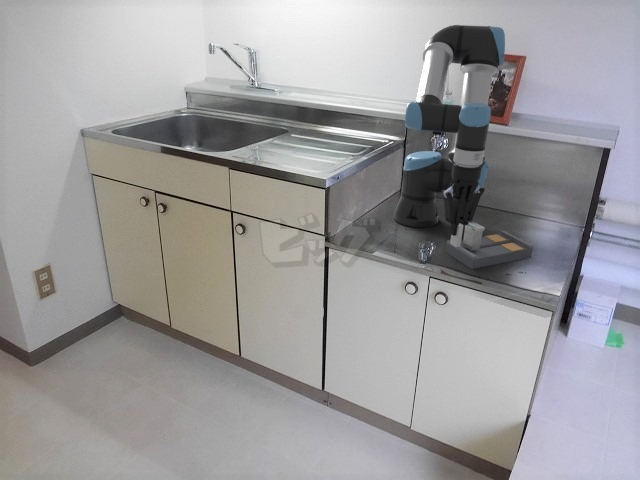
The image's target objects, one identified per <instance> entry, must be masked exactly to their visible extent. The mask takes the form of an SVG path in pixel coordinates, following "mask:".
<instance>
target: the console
mask: <svg viewBox="0 0 640 480" xmlns="http://www.w3.org/2000/svg"><path fill="white" fill-rule="evenodd" d="M450 240H451V239H448V240H446V246H445V253H447V254H448V255H449V256H451V258H453V259H455V260H457V261H458V262H460V263H462V264H463V265H465V266H466V267H468V268H469V269H471V270H476V269H479V268H484V267H489V266H495V265H499V264H504V263H505V264H506V263H508V262H514V261H519V260H523V259H529V258H532V253H533V248H534V245H533V244H531V243H529V242H528V241H525V240H524V239H521V238H519V237H518V236H515V235H514V234H512V233H510V232H507V231H506V230H501V231H500V233H497V234H489V235H484V236H482V238H481V244H480V249H479V250H473V251H471V250H469V249H467V248H466V247H464V246H462V244H463V239H461V245H460V247H455V246H453V245H452V244H450Z"/></svg>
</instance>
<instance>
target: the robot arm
mask: <svg viewBox="0 0 640 480" xmlns="http://www.w3.org/2000/svg"><path fill="white" fill-rule="evenodd" d="M505 51H506V35H505V30H504V29H503V28H502V27H499V26H492V25H468V24H467V25H465V24H464V25H463V24H462V25H461V24H454V25H449V26H446V27H443V28H442V29H440V30H438V31H437V32H435V33H434V35H432V36H431V37H430V38H429V39H428V40H427V42H426V44H425V46H424V48H423V52H422V61H423V67H422V72H421V77H420V80H419V81H420V82H419V85H418V90H417V91H418V92H417V95H416V99H415V101H409V102H408V103H407V105H406V108H405V109H406V110H405V115H404V126H405V127H406V128H407V129H410V130H417V131H425V132H427V131H428V132H440V133H441V132H442V133H451V134H452V133H453V134H455V137H454V146H453V149H452V150H450V151H449V152H448V155H447V158H444V157H443V156H442V154H441V152H439V151H431V150H429V151H428V150H424V151H423V150H422V151H415V152H413V153H410V154H408V155H407V156H406V157H405V159H404V164H403V165H404V166H403V167H402V170H403V172H402V173H403V175H402V183H401V191H400V197H399V200H398V202H397V204H396V208H395V209H394V211H393V219H394V221H396V222H397V223H399V224H401V225H403V226H408V227H412V228H429V227H434V226H436V225H437V224H438V222H439V211H438V207H437V201H436V198H437V194H442V197H443V201H444V202H443V203H444V205H443V206H444V216H445V217H444V218H445V221H446V222H447V223H449V224H450V229H449V233H450V239H449V240H450V244H452V245H453V246H455V247H460V245H461V240H462V239H463V238H462V237H463V235H464V232H465V225H468V224H469V223H470V222H473V218H474V215H475V214H476V211H477V208H478V205H479V203H480V199H481V197H482V195H483V194H484V193H485V190H486V189H485V188H484V184H485V182H486V177H487V174H488V171H489V167H490V164H489V162H488V161H485V159H486V155H485V151H486V145H487V138H488V132H489V126H490V122H491V112H492V108H491V106H489V105H488V104H489V99H490V97H489V96H490V90H491V85H492V84H491V83H492V76H494V75H495V74H496V73H497V72H498V70H499V67H500V68H501V66H503V65H504V62H505ZM451 64H455V65H456V64H459V65H460V68H459V69H460V72H462V74H463V80H462V81H463V82H462V86H461V87H462V90H461V96H460V97H461V98H460V102H459V103H460V104H446V103H443V101H444V97H445V90H446V83H447V77H448V74H449V73H448V72H449V67H450V65H451Z"/></svg>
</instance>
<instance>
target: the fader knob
mask: <svg viewBox="0 0 640 480" xmlns="http://www.w3.org/2000/svg"><path fill="white" fill-rule="evenodd" d="M468 223H469V224H468V225H465V229H464V233H463V238H462V240H463V244H462V246H464V247H466V248H467V249H469V250H471V251H473V250H479V249H480V244H481V238H482V237H483V232H484V231H485V229H486V227H485V226H483V225H481V224H478V223H477V222H475V221H469V222H468Z"/></svg>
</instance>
